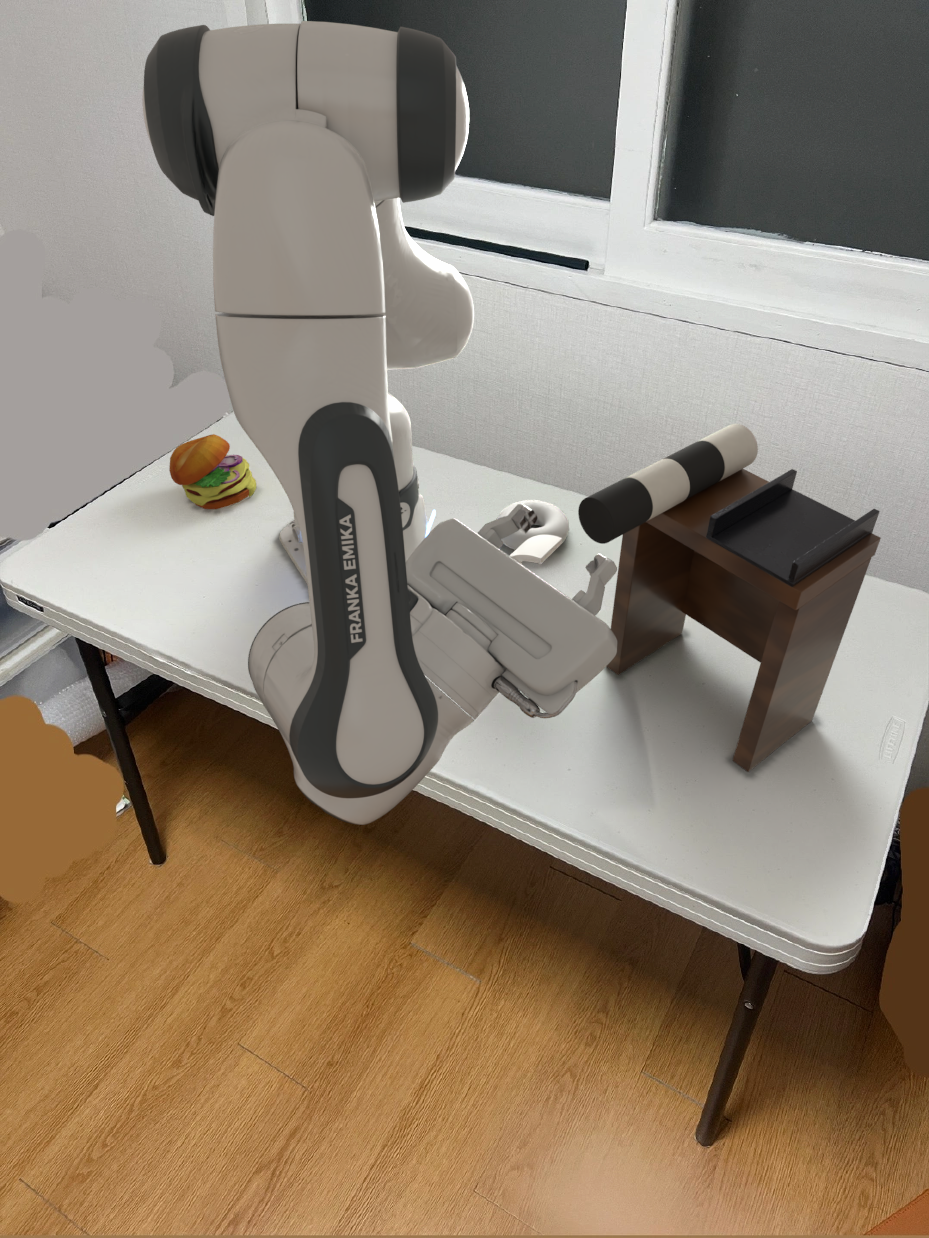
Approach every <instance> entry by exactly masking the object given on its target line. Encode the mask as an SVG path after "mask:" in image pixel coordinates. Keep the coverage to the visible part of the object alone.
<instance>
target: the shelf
mask: <svg viewBox="0 0 929 1238" xmlns="http://www.w3.org/2000/svg"><path fill="white" fill-rule="evenodd" d="M769 482H770V481H769V480H766V479H765V478H763V477H760V476H759V475H757V474H755V473H753V472H751V471H748V470H746V468H743V469H741V470H739V471H738V472H736V473H734V474H732V475H730V476H728V477H727V478H725V479H723V480H721V481H719V482H717V483H716V484H714V485H712V486H710V487H708V488H707V489H705V490H703V491H701V492H699V493H697V494H696V495H694V496H692V497H690V498H688V499H687V500H685V501H683V502H681V503H679V504H677V505H676V506H674V507H672V508H670V509H668V510H666V511H665V512H663V513H661V514H659V515H657V516H656V517H654V518H652V519H650V520H648V521H646V522H645V523H643V524H641V525H639V526H637V527H635V528H634V529H632V530H630V531H628V532H626V533H625V534H623V535H621V536H622V537H621V546H620V551H619V552H620V553H619V560H618V567H617V576H616V583H615V591H614V592H615V593H614V599H613V607H612V614H611V621H610V622H611V623H610V629H611V630H612V632H613V633H614V635H615V637H616V639H617V653H616V656H615V657H614V658H613V660H612V661H611V662H610V663H609V664H608V665H607V666H606V667H605V668H607V669H608V670H610V671H611V672H613V673H614V674H615V675H617V676H620V675H621V674H622V673H624V672H626V671H628V670H629V669H631V668H633V666H635V665H636V664H638V663H640V662H641V661H642V660H644V659H646V658H648V657H649V656H651V655H652V654H653V653H655V652H657V651H658V650H659V649H661V648H663V647H664V646H666V645H667V644H668V643H670V642H672V641H673V640H674V639H677V637H679V636H680V635H682V634H683V632H684V626H685V622H686V621H685V620H686V616H688V617H689V618H691V619H692V620H694V621H695V622H696V623H699V624H700V625H701V626H703V627H704V628H706V629H708V630H709V631H711V632H712V633H714V634H715V635H717V636H718V637H720V638H722V639H723V640H725V641H726V642H728V643H729V644H731V645H732V646H734V647H736V648H737V649H738V650H740V651H741V652H743V653H745V654H746V655H748V656H749V657H751V658H753V659H754V660H756V661H757V662H758V663H760V664H759V667H758V671H757V675H756V678H755V682H754V685H753V688H752V692H751V695H750V697H749V698H750V699H749V702H748V705H747V709H746V712H745V715H744V720H743V722H742V726H741V730H740V733H739V736H738V740H737V743H736V747H735V750H734V753H733V757H732V761H733V763H735V764H737V765H738V766H739V767H741V768H742V769H743V770H745V771H746V772H747V773H750V771H752V770H753V769H755V767H757V766H758V765H759V764H760V763H762V762H763V761H764V760H765V759H766V758H768V757H770V755H772V754H773V753H774V752H775V751H776V750H778V749H779V748H781V746H783V745H784V744H785V743H786V742H787V741H789V740H790V739H791V738H792V737H794V736H795V735H796V734H797V733H799V732H800V731H801V730H802V729H804V728H805V727H806V726H807V725H808V724H810V723H811V722H813V720H814V717H815V714H816V711H817V710H818V706H819V703H820V700H821V698H822V695H823V692H824V691H825V690H824V689H825V686H826V684H827V681H828V679H829V676H830V673H831V670H832V668H833V665H834V663H835V660H836V657H837V653H838V651H839V648H840V645H841V643H842V639H843V637H844V634H845V633H846V629H847V626H848V623H849V620H850V618H851V615H852V613H853V609H854V607H855V605H856V603H857V599H858V597H859V593H860V590H861V588H862V585H863V582H864V579H865V577H866V574H867V572H868V569H869V566H870V563H871V560H872V558H873V557H874V556H875V555H876V552H877V550H878V547H879V544H880V543H881V539H882V538H881V536H878V535H876V534H874V533H873V532H872V533H871V534H870V535H868V536H867V537H865V538H864V539H863V540H861V541H860V542H858V543H857V544H855V545H854V546H852V547H851V548H849V549H848V550H846V551H845V552H843V553H842V554H840V555H839V556H837V557H836V558H835V559H833V560H832V561H830V562H829V563H827V564H826V565H824V566H823V567H821V568H820V569H818V570H817V571H815V572H814V573H812V574H811V575H809V576H808V577H807V578H805V579H804V580H802V581H801V582H799V583H798V584H796V585H795V586H793V587H791V586H789V585H787V584H786V583H784V582H782V581H780V580H779V579H777V578H775V577H773V576H772V575H770V574H768V573H766V572H765V571H763V570H761V569H759V568H758V567H756V566H754V565H752V564H751V563H749V562H747V561H746V560H744V559H742V558H740V557H739V556H737V555H735V554H733V553H732V552H730V551H728V550H726V549H725V548H723V547H721V546H719V545H718V544H716V543H714V542H712V541H711V540H709V539H707V538H706V535H707V530H708V525H709V520H710V516H711V515H713V514H715V513H717V512H718V511H720V510H722V509H723V508H725V507H727V506H729V505H730V504H732V503H734V502H736V501H737V500H739V499H741V498H743V497H744V496H746V495H748V494H750V493H751V492H753V491H755V490H756V489H758V488H760V487H762V486H763V485H765V484H767V483H769Z"/></svg>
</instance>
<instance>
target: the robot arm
mask: <svg viewBox="0 0 929 1238" xmlns="http://www.w3.org/2000/svg"><path fill="white" fill-rule="evenodd" d="M143 70H144V71H143V86H142V95H141V96H142V101H141V103H142V115H143V120H144V125H145V131H146V133H147V137H148V140H149V142H150V145H151V147H152V151H153V154H154V157H155V159H156V162H157V164H158V167H159V169H160V170H161V172H162V173H163V174H164V175H165V177H166V178H167V179H168V180H169V181H170V182H171V183H172V184H173V185H174V186H175V187H176V188H177V189H178V190H179V191H180V192H181V194H183V195H185V196H187V197H189V198H192V199H194V200H196V201H198V203H199V205H200V207H201V209H202V211H203V212H204V213H205V214H207V215H209V216H211V217H213V229H212V230H213V232H212V233H213V235H212V237H213V238H212V276H213V277H212V281H213V282H212V283H213V284H212V285H213V299H214V312H216V313H215V327H216V336H217V337H216V338H217V346H218V354H219V358H220V363H221V369H222V374H223V377H224V381H225V386H226V389H227V392H228V396H229V400H230V404H231V407H232V410H233V413H234V416H235V419H236V421H237V422H238V424H239V425H240V427H241V428H242V430H243V431H244V433H245V434H246V435H247V437H248V438H249V439H250V441H251V443H253V445H254V446H255V447H256V448H257V450H258V451H259V453H260V454H261V456H262V457H263V458H264V460H265V461H266V463H267V465H268V466H269V467H270V468H271V470H272V472H273V473H274V475H275V477H276V479H277V480H278V482H279V484H280V485H281V487H282V489H283V491H284V492H285V494H286V496H287V498H288V500H289V502H290V506H291V508H292V510H293V520H292V521H290V522H288V524H287V525H285V526H284V527H283V528H282V529H281V530H280V532H279V535H278V536H279V537H278V538H279V542H280V544H281V546H282V547H283V549H284V551H285V552H286V553H287V555H288V556H289V558H290V559H291V561H292V563H293V564H294V566H295V568H296V570H298V572H299V574H300V576H301V577H302V578H303V580H304V582H305V583H306V584H307V594H308V601H306V602H300V603H295V604H292V605H290V606H287V607H285V608H283V609H281V610H279V611H278V612H277V613H275V614H273V615H272V616H271V617H270V618H269V619H268V620H267V621H265V623H264V624H263V625H262V626H261V627H260V629H259V630H258V631H257V633H256V635H254V638H253V640H252V642H251V646H250V648H249V652H248V657H247V671H248V675H249V678H250V681H251V683H252V685H253V689H254V691H255V693H256V695H257V697H258V699H259V700H260V702H261V704H262V705H263V707H264V708H265V710H266V712H267V713H268V714H269V717H270V718H271V719H272V720H273V724H275V726H276V728H277V729H278V731H279V733H280V735H281V737H282V739H283V742H284V743H285V745H286V748H287V751H288V753H289V756H290V759H291V762H292V767H293V778H294V781H295V784H296V786H297V788H298V789H299V791H300V792H301V793H302V794H303V796H304V797H305V798H306V799H307V800H308V801H310V803H312V804H313V805H315V806H316V807H318V808H319V809H321V810H322V811H323V812H324V813H326V814H327V815H329V816H330V817H333V818H334V819H337V820H338V821H341V822H343V823H346V824H347V823H348V824H351V825H358V826H359V825H361V826H362V825H369V824H371V823H373V822H375V821H377V820H378V819H380V818H382V817H383V816H384V815H386V814H388V813H389V812H390V811H392V810H393V809H394V808H395V807H396V806H397V805H399V804H400V803H401V802H402V801H403V800H404V799H405V798H406V797H407V796H408V795H409V794H410V793H411V792H412V791H413V790H414V789H415V788H416V787H417V786H418V785H419V784H420V783H421V782H422V781H423V779H424V778H425V777H427V776H428V774H429V773H430V772H431V771H432V769H433V768H434V767H435V766H436V765H437V764H438V763H439V761H440V760H441V758H442V756H443V754H444V753H445V750H446V748H447V746H448V744H449V743H450V742H451V741H452V739H454V737H455V736H456V735H457V734H458V733H460V732H462V731H463V730H464V729H466V728H468V727H469V726H470V725H471V724H472V723H474V722H475V720H476V719H477V718H478V717H479V716H480V715H481V714H482V713H483V711H484V710H485V709H486V708H487V707H488V706H489V704H491V702H492V701H493V700H494V699H495V698H496V697H497V696H498V695H499V694H501V695H502V696H503V697H504V698H506V699H507V700H508V701H510V702H511V703H513V704H514V705H516V706H517V707H518V708H519V709H520V711H521V712H522V713H523V714H524V715H526V716H527V717H529V718H531V719H535V718H540V719H551V718H555V717H557V716H559V715H560V714H561V713H563V712H564V710H565V709H566V708H567V707H568V706H569V705H570V704H571V703H572V701H573V700H574V698H575V697H576V694H577V693H578V692H580V691H581V690H582V689H583V688H584V687H585V686H587V685H588V684H589V683H591V681H593V680H594V679H595V678H596V677H597V676H598V675H599V674H600V673H601V672H602V671H603V670H605V668H607V667H606V666H607V665H608V664H609V663H610V662H611V661H612V660H613V658H614V657H615V656H616V653H617V639H616V637H615V635H614V633H613V632H612V630H611V626H609V625H608V624H607V623H606V622H605V621H603V620H602V619H600V618H599V617H598V616H597V615H598V613H599V612H600V611H601V609H602V605H603V600H604V595H605V591H606V585H607V584H608V583H609V581H611V579H612V578H613V577H614V576H615V575H616V574H617V572H618V567H617V565H616V563H615V561H613V560H612V559H610V558H609V557H607V556H605V554H603V553H600V552H598V553H597V554H595V556H593V560H590V561H589V562H588V564H587V565H586V566H585V569H586V571H587V572H588V573H589V576H590V577H589V581H588V586H587V589H586V592H585V591H584V590H582V589H580V590H578V592H577V593H576V594H575V595H574V596H573V597H572V598H570V597H569V596H568V595H567V594H565V593H563V592H562V591H561V590H559V589H558V588H556V587H555V586H553V585H551V584H550V583H549V582H547V581H546V580H545V579H544V578H542V577H541V576H539V575H537V574H536V573H534V572H533V571H532V570H531V569H530V568H527V567H526V566H525V565H523V563H522V564H520V563H519V562H517V561H516V560H515V559H513V558H512V557H510V555H509V554H508V553H506V552H505V551H503V550H502V549H501V548H502V547H503V546H504V543H503V542H502V540H501V539H503V538H505V537H507V536H509V535H511V534H513V533H515V532H517V531H519V530H520V531H522V532H524V533H525V534H526V533H527V532H528V531H529V529H530V528H532V526H534V525H535V523H536V521H537V515H536V514H535V513H534V511H533V510H532V509H531V508H529V507H527V506H526V505H524V504H523V503H519V504H518V505H517V506H516V507H515V508H514V509H513V510H512V511H511V513H510V514H509V515H508V516H504V517H501V518H499V519H497V518H496V519H494V520H491V521H489V522H487V523H485V524H484V525H483V526H482V527H481V528H480V529H479V530H478V531H477V532H476V531H474V530H473V529H472V528H471V527H469V526H468V525H466V524H464V523H463V522H462V521H460V520H459V519H457V518H455V517H452V518H449V519H446V520H443V521H440V522H439V523H437V524H436V526H434V527H433V528H432V526H433V523H434V520H435V517H436V514H437V512H436V509H433V510H432V512H431V515H430V518H429V519H428V516H427V509H426V503H425V499H424V497H423V496H424V495H422V494H421V493H420V491H419V490H420V481H419V476H418V470H417V468H416V466H415V464H414V457H413V439H412V424H411V423H412V422H411V418H410V415H409V413H408V411H407V410H406V408H405V406H404V405H403V404H402V403H401V402H400V401H399V400H398V399H397V398H396V397H395V396H393V395H392V393H390V392H389V384H388V371H389V370H406V369H407V370H408V369H417V368H424V367H426V366H430V365H431V366H432V365H434V364H435V365H436V364H438V363H442V362H445V361H449V360H452V359H456V358H457V357H458V356H459V355H460V354H461V353H462V352H463V350H464V349H465V348H466V346H467V344H468V342H469V339H470V338H471V335H472V332H473V328H474V324H475V323H474V322H475V305H474V299H473V295H472V292H471V290H470V287H469V286H468V283H467V282H466V281H465V278H464V277H463V276H462V275H461V273H460V272H459V271H458V270H457V269H456V268H455V267H454V266H453V265H452V264H450V263H449V264H448V263H446V262H444V261H441V260H440V259H438V258H436V257H434V256H432V255H431V254H430V253H428V252H426V251H425V250H424V249H423V248H421V247H420V246H419V245H418V244H417V243H416V242H415V241H414V239H412V237H411V236H410V234H409V233H408V231H407V230H406V228H405V225H404V221H403V215H402V210H401V209H402V208H401V202H402V203H403V204H404V203H405V204H406V203H413V202H417V201H421V200H422V201H423V200H427V199H429V198H434V197H437V196H440V195H441V194H442V193H443V192H444V191H445V190H446V189H447V188H448V187H449V186H450V184H452V182H453V181H455V178H456V170H457V169H458V166H459V165H460V162H461V160H462V159H463V158H462V157H463V156H464V153H465V149H466V145H467V142H468V137H469V128H470V125H469V124H470V107H469V100H468V95H467V90H466V86H465V82H464V79H463V77H462V75H461V72H460V70H459V68H458V66H457V57H456V55H455V54H454V52H453V51H452V49H450V48H449V46H448V45H447V44H446V42H445V41H444V40H443V39H442V38H441V37H438V36H436V35H434V34H432V33H429V32H425V31H421V30H419V29H414V28H410V27H404V26H400V27H399V28H398V30H397V31H394V30H393V31H392V30H389V29H388V30H387V29H383V28H378V27H371V26H364V25H359V24H350V23H341V22H332V21H331V22H330V21H317V20H316V21H315V20H313V21H310V20H302V21H301V22H300V23H266V24H265V23H262V24H261V23H260V24H249V25H239V26H229V27H222V28H217V29H210V28H209V26H207V25H206V24H200V25H194V26H189V27H184V28H180V29H176V30H172V31H169V32H167V33H164V34H162V35H160V36H159V37H158V39H157V41H156V42H155V44H154V45H153V47H152V48H151V50H150V52H149V53H148V54H147V56H146V60H145V64H144V69H143ZM400 200H401V201H400ZM428 520H429V521H428ZM431 528H432V530H431ZM541 710H543V711H544V712H541Z"/></svg>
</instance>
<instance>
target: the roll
mask: <svg viewBox="0 0 929 1238" xmlns="http://www.w3.org/2000/svg"><path fill="white" fill-rule="evenodd" d="M758 452H759V446H758V441H757V438H756V436H755V435H754V433H753V432H752V431H751V430H750V429H749V428H748V427H747V426H745V425H743V424H740V423H731V424H729V425H727V426H725V427H723V428H721V429H719V430H717V431H715V432H713V433H711V434H709V435H707V436H705V437H703V438H701V439H699V440H697V441H695V442H693V443H691V444H689V445H687V446H685V447H683V448H682V449H680V450H677V451H675V452H674V453H672V454H670V455H667V456H665V457H664V458H661V459H660V460H658V461H656V462H654V463H652V464H650V465H647V466H646V467H644V468H642V469H639V470H638V471H636V472H634V473H631V474H630V475H628V476H626V477H624V478H622V479H620V480H618V481H616V482H614V483H612V484H610V485H609V486H606V487H604V488H603V489H601V490H599V491H596V492H595V493H592V494H590V495H589V496H587V497H585V498H583V499H582V500H581V502H580V503H579V505H578V510H577V511H578V514H577V515H578V520H579V523H580V526H581V528H582V529H583V531H584V533H585V534H586V535H587V537H588V538H590V539H591V540H592V541H593V542H595V543H596V544H602V545H605V544H608V543H610V542H612V541H614V540H615V539H617V538H619V537H621V536H623V534H625V533H626V532H628V531H630V530H632V529H634V528H635V527H637V526H639V525H641V524H643V523H645V522H646V521H648V520H650V519H652V518H654V517H656V516H657V515H659V514H661V513H663V512H665V511H666V510H668V509H670V508H672V507H674V506H676V505H677V504H679V503H681V502H683V501H685V500H687V499H688V498H690V497H692V496H694V495H696V494H697V493H699V492H701V491H703V490H705V489H707V488H708V487H710V486H712V485H714V484H716V483H717V482H719V481H721V480H723V479H725V478H727V477H728V476H730V475H732V474H734V473H736V472H738V471H739V470H741V469H746V468H747V467H749V466H750V465H751V464H752V465H753V463H754V462H755V461H756V458H757V456H758Z"/></svg>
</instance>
